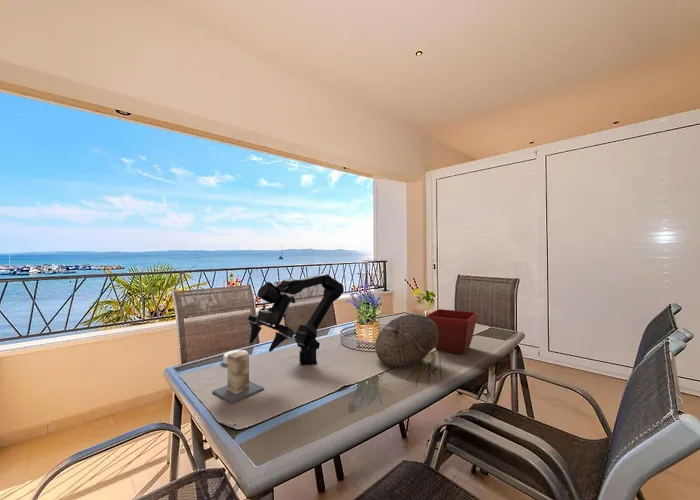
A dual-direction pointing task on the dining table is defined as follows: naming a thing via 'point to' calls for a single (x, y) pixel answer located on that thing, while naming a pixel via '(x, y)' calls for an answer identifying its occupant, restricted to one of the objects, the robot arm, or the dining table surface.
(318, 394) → the dining table surface
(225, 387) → the charcoal mat
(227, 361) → the white short cylinder
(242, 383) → the beech block
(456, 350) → the plant pot
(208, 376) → the dining table surface
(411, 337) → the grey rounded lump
